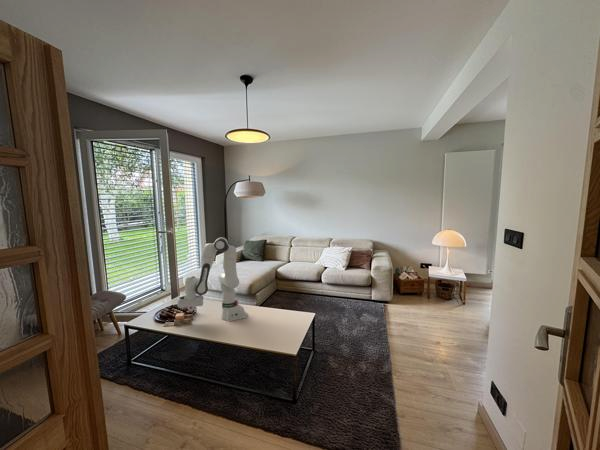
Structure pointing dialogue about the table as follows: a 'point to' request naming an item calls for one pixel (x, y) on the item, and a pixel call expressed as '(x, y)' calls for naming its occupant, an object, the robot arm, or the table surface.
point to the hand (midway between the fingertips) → (190, 311)
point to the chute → (181, 321)
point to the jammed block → (179, 316)
